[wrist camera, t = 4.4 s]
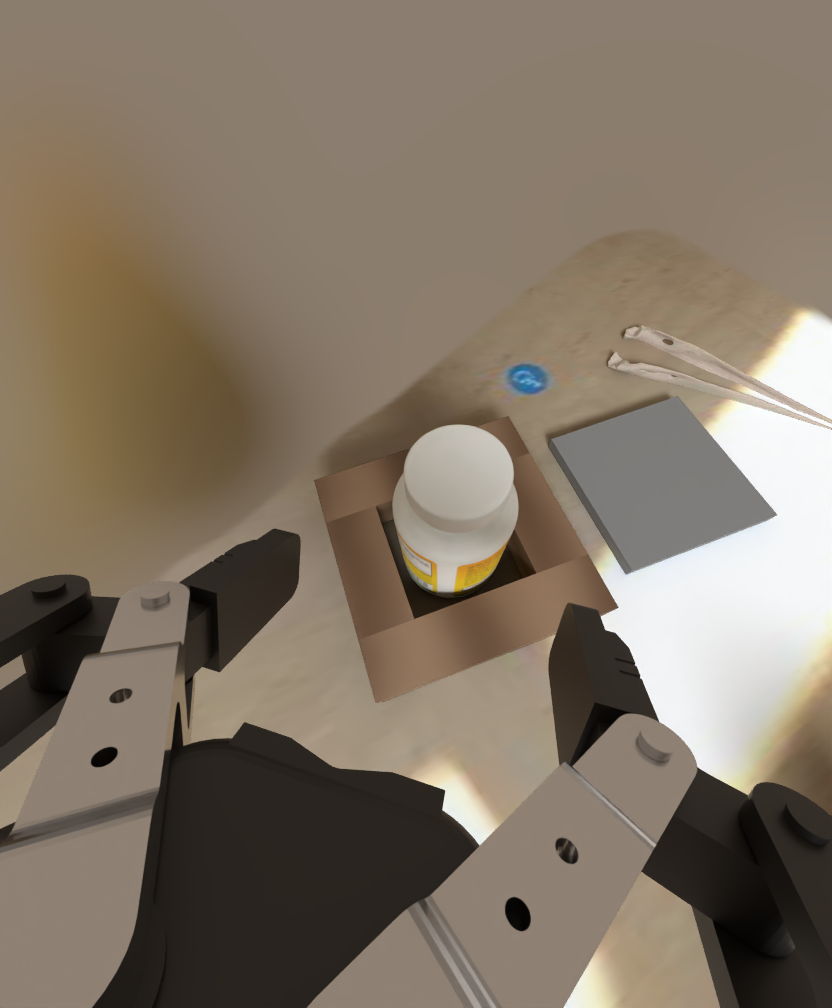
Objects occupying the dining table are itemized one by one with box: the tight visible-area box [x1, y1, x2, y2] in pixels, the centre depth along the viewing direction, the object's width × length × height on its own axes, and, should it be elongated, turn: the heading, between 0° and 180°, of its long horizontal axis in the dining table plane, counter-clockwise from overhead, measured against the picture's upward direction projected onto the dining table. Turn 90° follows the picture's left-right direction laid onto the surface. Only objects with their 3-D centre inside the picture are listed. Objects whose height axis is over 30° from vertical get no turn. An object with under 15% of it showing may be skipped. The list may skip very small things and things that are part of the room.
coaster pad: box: [548, 396, 777, 574], centre depth 24 cm, size 9×9×1 cm
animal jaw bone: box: [608, 325, 832, 430], centre depth 27 cm, size 18×5×2 cm, turn 58°
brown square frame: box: [314, 416, 618, 703], centre depth 22 cm, size 12×12×2 cm
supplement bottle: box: [392, 424, 519, 598], centre depth 19 cm, size 5×5×10 cm
